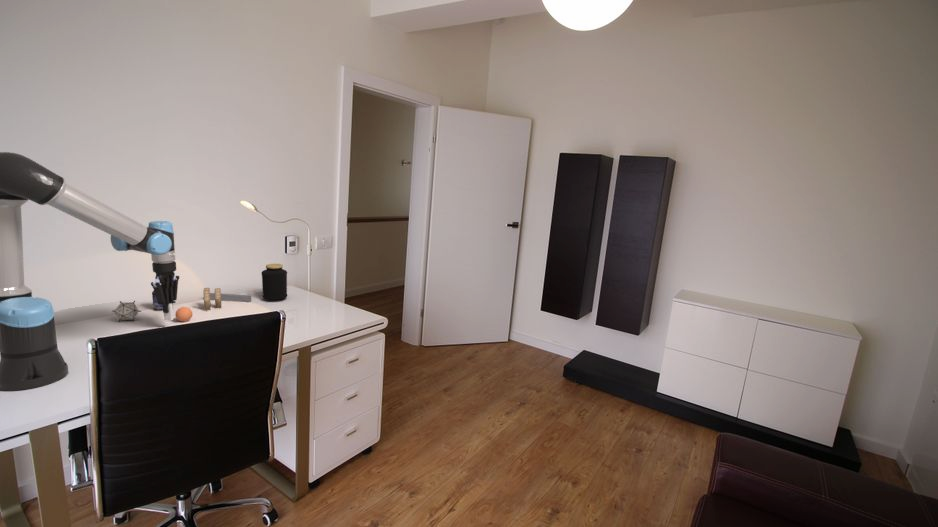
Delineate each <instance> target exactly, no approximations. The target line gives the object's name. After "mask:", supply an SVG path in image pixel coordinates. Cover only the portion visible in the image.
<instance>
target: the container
mask: <svg viewBox="0 0 938 527" xmlns="http://www.w3.org/2000/svg"><path fill="white" fill-rule="evenodd" d="M287 275H288V271H287V270H286V269H283V264H280V263H269V264H266V265H265V269H264V270H262V271H261V282H262V284H261V286H262V299H263V300H265V301H268V302H279V301H283V300H285V299H287V297H288V296H289V295H288V276H287Z"/></svg>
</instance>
